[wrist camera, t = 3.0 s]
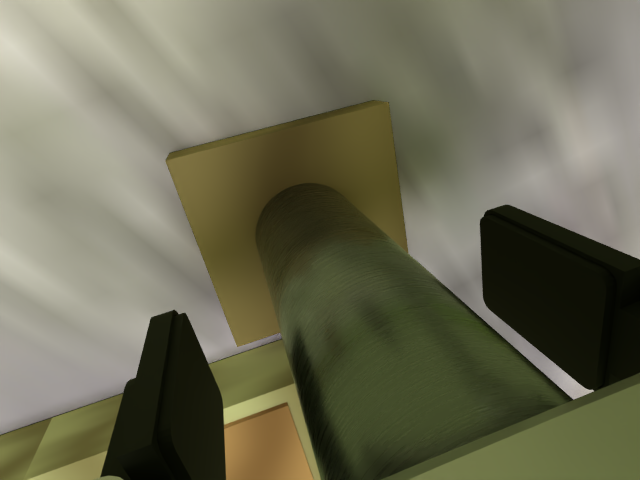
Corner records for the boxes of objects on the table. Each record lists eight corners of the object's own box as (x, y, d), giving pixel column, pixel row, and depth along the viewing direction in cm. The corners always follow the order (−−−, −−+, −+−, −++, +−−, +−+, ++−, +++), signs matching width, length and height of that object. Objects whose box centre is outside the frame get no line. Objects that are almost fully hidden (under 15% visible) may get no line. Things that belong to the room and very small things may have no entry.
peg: (346, 170, 15) (721, 424, 4) (363, 262, 16) (658, 616, 6) (242, 200, 14) (343, 593, 3) (271, 292, 16) (400, 750, 5)
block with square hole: (420, 292, 20) (456, 328, 17) (434, 405, 23) (465, 451, 20) (-7, 437, 17) (-52, 512, 14) (80, 542, 20) (59, 620, 17)
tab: (373, 100, 15) (388, 102, 14) (398, 272, 19) (412, 287, 17) (169, 152, 14) (165, 160, 13) (235, 326, 18) (237, 347, 16)
